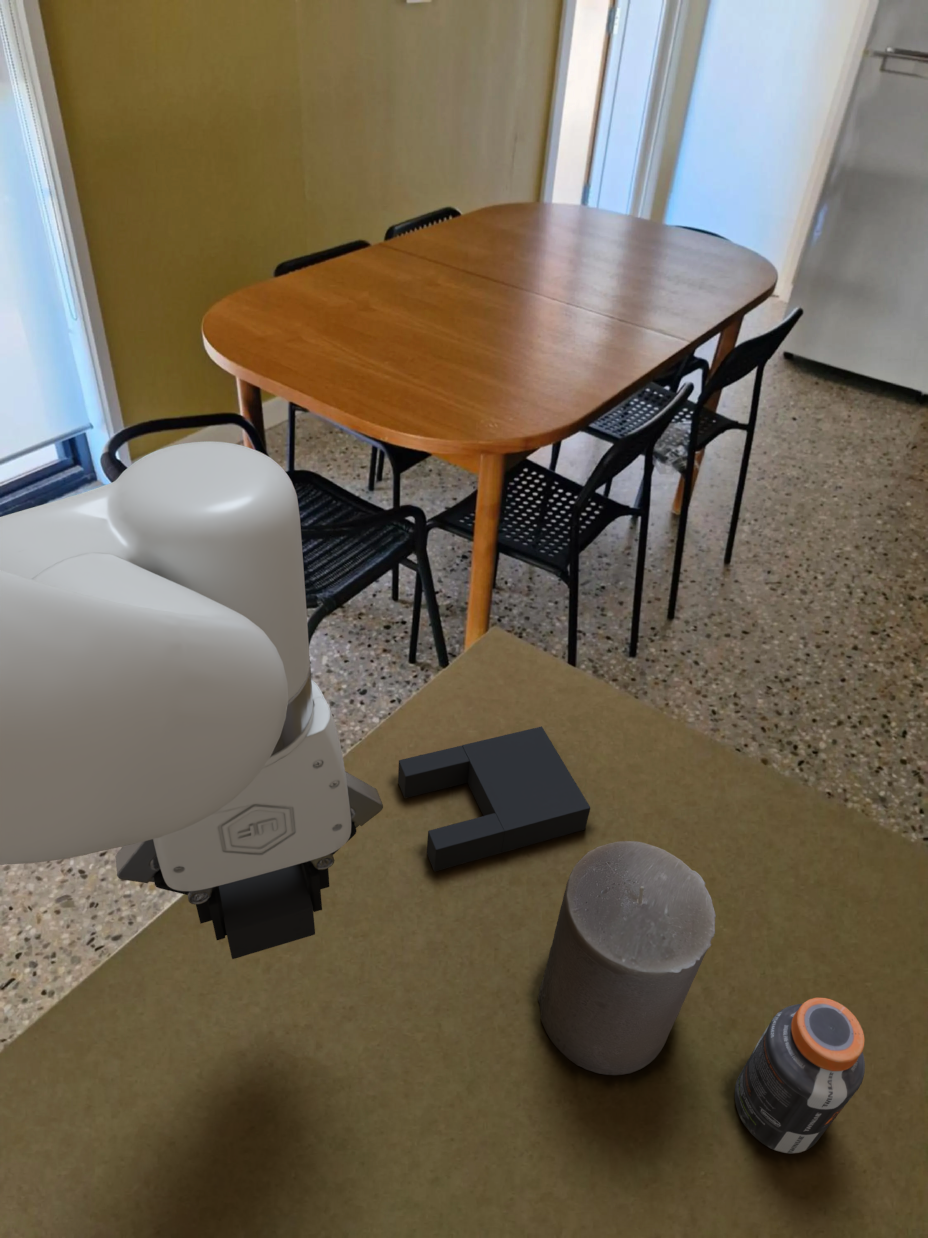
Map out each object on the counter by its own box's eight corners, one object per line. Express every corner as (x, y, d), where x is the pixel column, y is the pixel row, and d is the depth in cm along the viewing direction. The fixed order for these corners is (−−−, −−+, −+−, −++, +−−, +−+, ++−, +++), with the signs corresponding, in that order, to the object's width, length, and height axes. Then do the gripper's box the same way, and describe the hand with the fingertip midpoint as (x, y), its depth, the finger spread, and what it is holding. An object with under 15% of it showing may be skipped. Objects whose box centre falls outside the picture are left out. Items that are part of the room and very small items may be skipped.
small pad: (232, 960, 52) (226, 933, 50) (218, 889, 56) (212, 861, 54) (315, 935, 54) (313, 907, 52) (297, 867, 57) (294, 839, 55)
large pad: (434, 872, 73) (435, 850, 71) (397, 782, 80) (398, 759, 78) (585, 829, 78) (590, 807, 76) (538, 748, 85) (542, 726, 83)
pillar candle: (512, 988, 66) (536, 867, 56) (611, 927, 70) (649, 806, 61) (596, 1106, 60) (639, 993, 50) (699, 1030, 64) (756, 914, 55)
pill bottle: (820, 1170, 58) (884, 1094, 50) (728, 1136, 59) (778, 1057, 52) (822, 1081, 62) (881, 1000, 55) (736, 1051, 63) (783, 967, 56)
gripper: (44, 798, 37) (125, 1006, 49) (426, 710, 43) (416, 917, 54) (40, 679, 43) (114, 893, 54) (381, 614, 48) (381, 821, 60)
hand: (265, 903), depth 54 cm, fingers closed on small pad, 5 cm apart
